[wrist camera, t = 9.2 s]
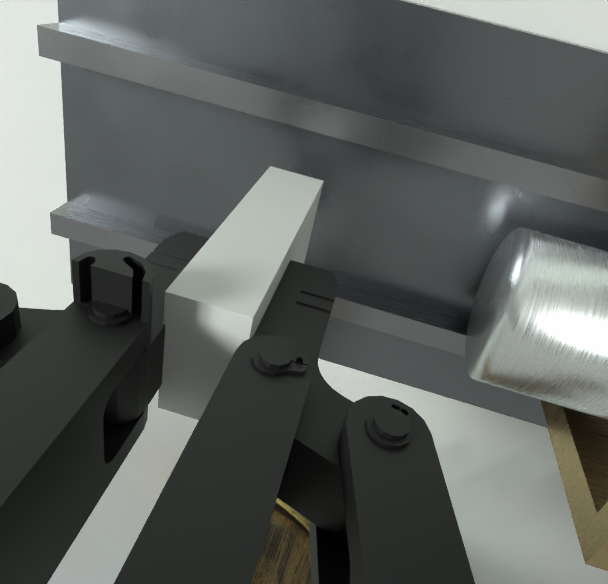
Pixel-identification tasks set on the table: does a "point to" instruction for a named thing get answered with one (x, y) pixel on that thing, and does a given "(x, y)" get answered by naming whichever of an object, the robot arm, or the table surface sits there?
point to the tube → (543, 322)
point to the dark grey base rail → (338, 152)
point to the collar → (583, 475)
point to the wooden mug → (285, 549)
